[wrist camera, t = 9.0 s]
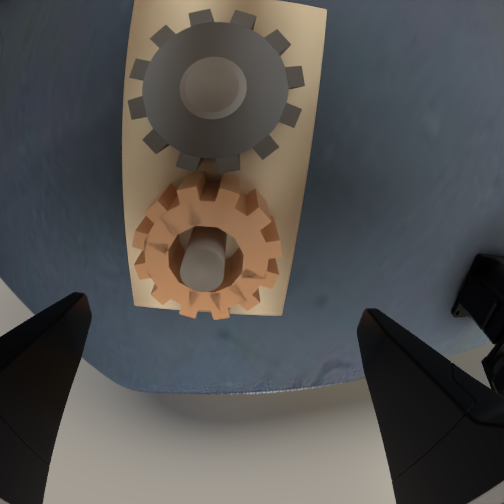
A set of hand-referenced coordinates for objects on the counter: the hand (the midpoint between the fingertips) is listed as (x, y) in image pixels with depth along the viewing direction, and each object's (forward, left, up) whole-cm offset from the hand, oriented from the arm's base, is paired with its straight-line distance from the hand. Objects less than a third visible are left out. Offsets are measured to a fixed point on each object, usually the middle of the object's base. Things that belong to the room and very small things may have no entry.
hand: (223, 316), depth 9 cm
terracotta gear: (+1, +1, -9) cm, 9 cm away
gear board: (+1, -3, -10) cm, 10 cm away
